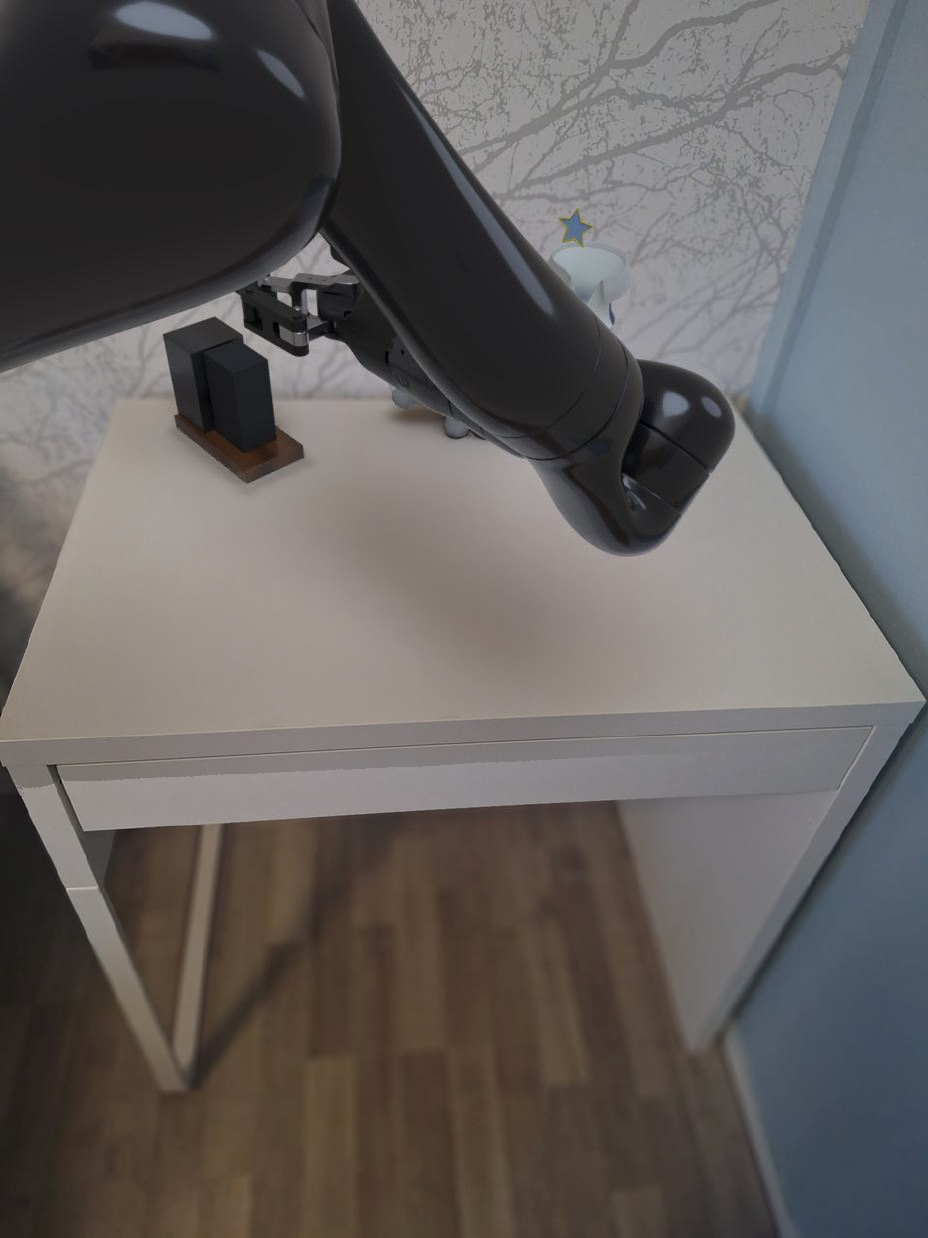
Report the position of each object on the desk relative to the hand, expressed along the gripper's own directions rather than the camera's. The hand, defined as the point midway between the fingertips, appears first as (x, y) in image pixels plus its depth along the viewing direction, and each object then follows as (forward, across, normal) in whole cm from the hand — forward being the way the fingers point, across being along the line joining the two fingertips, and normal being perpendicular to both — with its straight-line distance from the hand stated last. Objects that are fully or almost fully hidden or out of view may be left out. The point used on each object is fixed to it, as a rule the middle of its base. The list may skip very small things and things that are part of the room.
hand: (286, 256), depth 66 cm
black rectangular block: (+16, -4, +25) cm, 30 cm away
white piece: (-3, -32, +27) cm, 42 cm away
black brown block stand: (+18, -4, +27) cm, 32 cm away
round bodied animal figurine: (+6, -23, +27) cm, 36 cm away
